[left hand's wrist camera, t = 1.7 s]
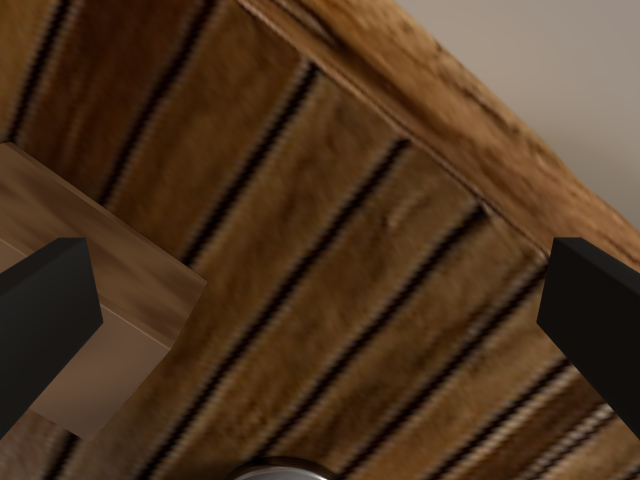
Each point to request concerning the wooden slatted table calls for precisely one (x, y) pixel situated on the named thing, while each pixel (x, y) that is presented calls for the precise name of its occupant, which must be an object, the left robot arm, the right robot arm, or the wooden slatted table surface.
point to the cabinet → (112, 287)
